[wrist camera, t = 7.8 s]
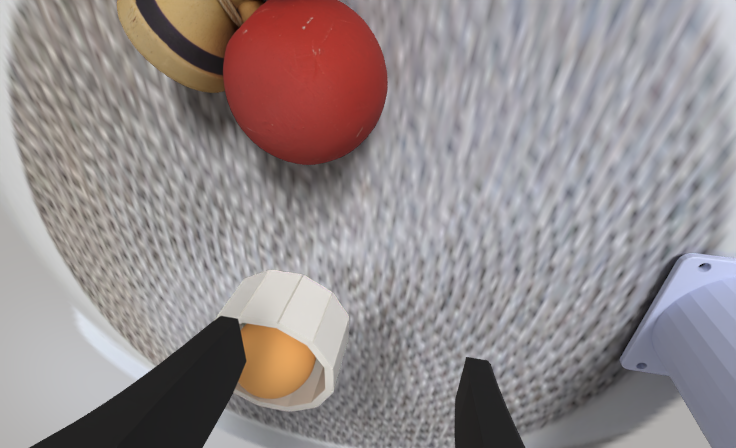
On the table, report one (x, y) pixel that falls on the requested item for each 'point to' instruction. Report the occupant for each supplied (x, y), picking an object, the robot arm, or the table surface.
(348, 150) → the kendama
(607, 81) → the table surface
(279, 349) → the ball
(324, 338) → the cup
